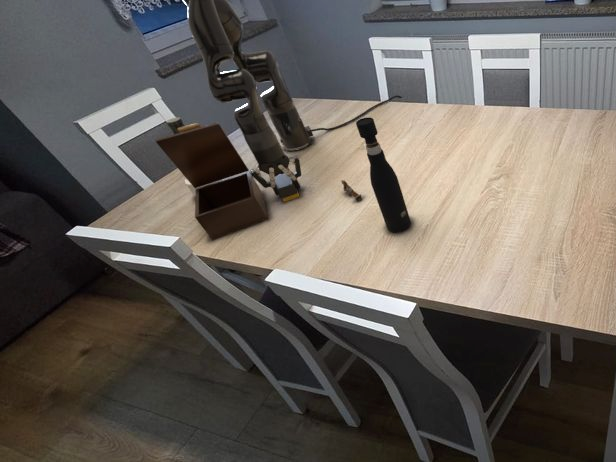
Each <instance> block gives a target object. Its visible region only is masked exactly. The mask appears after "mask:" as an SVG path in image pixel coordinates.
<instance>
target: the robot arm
mask: <svg viewBox="0 0 616 462" xmlns="http://www.w3.org/2000/svg"><path fill="white" fill-rule="evenodd" d="M182 2H183V3H184V4H185V5H186V6H187V25H188V28H189V32H190V33H191V36H192V39H193V40H194V42H195V45H196V47H197V49H198V51H199V53H200V56H201V57H202V58H201V59H202V61H203V64H204V69H205V73H206V80H207V81H206V82H207V86H208V91H209V92H210V94H211V96H212V98H214V99H215V100H216V101H218V102H219V103H222V104H228V103H232V102H237V101H242V100H246V99H247V103H246V104H244V105H242V106H241V107H239V108H236V109H235V110H234V111H233V114H232V116H233V119H234V121H235V122H236V125H237V127H238V128H239V130H240V132H241V133H242V135H243V138H244V141H245V142H246V143H245V144H247V146H248V148H249V149H250V151H251V153H252V155H253V158H255V160H256V162H257V164H258V165H257V167H256V168H254V169H253V168H252V169H251V170H250V173H251V175H252V176H253V178H254V180H255V181H256V182H257V183H259V184H260V185H261V186H262V188H264V189H268V188H271V189H272V191H273V193H274V194H275V196H277V197H279V198H282V197H281V196H280V194H279V192H278V190H277V187H276V184H275V176H278V175H281V174H284V173H285V174H286V175H287V176H289V177H290V178H291V179H292V181H293V183H294V185H295V187H296V189H297V191H298V192H299V191H300V189H301V184H300V182H299V180H298V178H300V177H302V169H301V168H302V167H301V161H300V158H299V156H298V155H294V156H291V157H289V156H287V154H285V151H284V150H283V148H282V146H283V147H284V149H285V150H286V151H289V152H294V151H300V150H302V149H305V148H307V147H308V146H310V145H312V144H313V142H312V140H311V137H313V136H314V133H313V132H318V131H333V130H336V129H339V128H342V127H344V126H346V125H348V124H350V123H352V122H355V121H357V120H358V119H360V118H361V117H362V116H364V115H365V114H367V113H368V112H370V111H372V110H373V109H374V108H377V107H378V106H381V105H383V104H385V103H387V102H390V101H392V100H393V99H396V98H399V99H402V98H403V97H402V96H401V95H393V96H391V97H390V98H388V99H385V100H383V101H381V102H379V103H377V104H375V105H373V106H371V107H370V108H367V109H366V110H365V111H363V112H362V113H360V114H358V115H357V116H355V117H353V118H352V119H350V120H349V121H346V122H344V123H341V124H338V125H337V126H334V127H328V128H326V127H319V128H312V129H311V127H310V125H306V126H305V124H304V122H303V120H302V118H301V116H300V113H299V111H298V109H297V107H296V105H295V103H294V100H293V98H292V95H291V93H290V91H289V88H288V86H287V83H286V80H285V77H284V76H283V74H282V70H281V67H280V65H279V62H278V60H277V58H276V56H275V55H274V53H273V52H272V51H270V50H260V51H253V52H245V51H244V50H243V49H242V41H243V36H244V35H243V34H244V26H243V22H242V19H241V17H240V16H239V15H238V13H237V12H236V10H235V9H234V7H233V6H232V4H231V3H230V2H229V1H228V0H182ZM229 61H232V62H233V63H234V65H235V67H236V68H237V69H233V70H229V71H223V72H220V68H221V66H222V65H223V64H225V63H227V62H229ZM267 82H268V83H269V82H272V86H271V87H270V88H269V89H267V90H265V91H264V92H262V93H261V94H260V100H259V94H258V88H257V84H263V83H267ZM260 101H261V102H262V104H263V106H264V108H265V111H266V112H267V114H268V117H269V119H270V120H271V123H272V124H273V126H274V129H275V130H276V133H277V135H278V136H279V139H280V140H278V136H277V135H276V134H275V132H274V130H273V129H272V128H271V125H270V124H269V122H268V120H267V118H266V116H265V114H264V112H263V110H262V107H261V103H260ZM279 141H280V142H279ZM280 143H281V144H282V146H281V144H280ZM290 163H292V165H294V168H295V169H294V170H295V172H293V171H292V169H291V168H289V165H290ZM261 172H263V173H264V174H265V175H268V177H269V181H268V180H266V179H265V178H264V177H263V176H262V173H261Z"/></svg>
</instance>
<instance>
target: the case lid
mask: <svg viewBox="0 0 616 462" xmlns="http://www.w3.org/2000/svg"><path fill="white" fill-rule="evenodd" d="M177 129H178V131H179V133H178V134H174V133H173V134H171V135H166V136H163V137H160V138H156V139H155V140H154V142H155V143H156V144H157V145H158V147H159V148H160V149H161V150H162V151H163V152H164V154H165V155H166V156H167V157H168V159H169V160H170V161H171V162H172V163H173V164H174V165H175V167H176V168H177V169H178V170H179V171H180V173H181V174H182V176H184V178H185V179H186V178H187V180H188V181H189V182H190V183H191V184H192V186H193V187H194V188H197V187H200V186H203V185H206V184H210V183H213V182H216V181H219V180H224V179H228V178H231V177H234V176H237V175H240V174H243V173H247V172H249V171H250V169H249V168H248V166H247V164H246V163H245V161H244V160H243V158H242V157H241V155H240V153H239V152H238V151H237V149H236V147H235V146H234V145H233V142H232V141H231V140H230V138H229V136H228V135H227V134H226V132H225V130H224V129H223V127H222V126H221V124H220V122H214V123H211V124H207V125H203V126H202V125H201V124H200V122H195V123H191V124H187V125H184V126H183V127H180V128H177Z"/></svg>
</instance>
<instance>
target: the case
mask: <svg viewBox="0 0 616 462" xmlns="http://www.w3.org/2000/svg"><path fill="white" fill-rule="evenodd" d="M194 199H195V200H194V218H195V220H196V221H197V223H198V224H199V225H200V227H201V228H202V229H203V231H204V232H205V233H206V235H207V236H208V237H209V238H210V240H215V239H218V238H221V237H223V236H226V235H228V234H231V233H234V232H236V231H239V230H242V229H245V228H248V227H250V226H253V225H256V224H259V223H262V222H265V221H267V220H269V218H268V213H267V209H266V204H265V201H264V195H263V191H262V190H261V188H260V187H259V185H258V182H257V181H256V179H255V178H254V177H253V176H252V175H251V170H249V171H247V172H244V173H241V174H238V175H234V176H231V177H228V178H225V179H222V180H221V181H218V182H215V183H212V184H209V185H206V186H203V187H200V188H196V190H195V196H194Z"/></svg>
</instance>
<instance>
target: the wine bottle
mask: <svg viewBox="0 0 616 462" xmlns="http://www.w3.org/2000/svg"><path fill="white" fill-rule="evenodd" d="M355 125H356V127H357V128H356V129H357V131H358V134H359V137H360V138H361V139H364V143H365V150H366V152H367V153H366V156H367V159H368V161H369V164H370V165H369V178H370V185H371V188H372V190H373V193H374V196H375V199H376V201H377V204H378V207H379V210H380V212H381V215H382V218H383V220H384V224H385V227H386V229H387V231H389V232H390V233H393V234H400V233H402V232H405V231H407V230H408V229H409V228H410V227H411V225H412V222H411V221H412V220H411V218H410V215H409V211H408V208H407V205H406V201H405V198H404V194H403V192H402V188H401V185H400V182H399V179H398V176H397V174H396V172H395V170H394V168H393V167H392V166H391V164H390V163H389V161H388V160H387V158H386V156H385V152H384V149H382V147H381V144H380V143H379V142H378V139H377V137H376V136H377V135H378V129H377V125H376V123H375V120H374V118H373V117H369V116H368V117H362V118H358V119H357V120H356V122H355Z"/></svg>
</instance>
